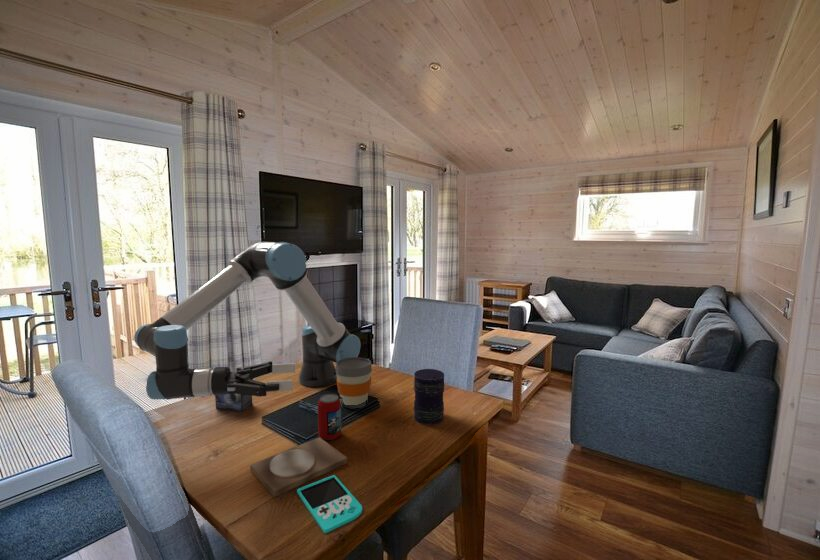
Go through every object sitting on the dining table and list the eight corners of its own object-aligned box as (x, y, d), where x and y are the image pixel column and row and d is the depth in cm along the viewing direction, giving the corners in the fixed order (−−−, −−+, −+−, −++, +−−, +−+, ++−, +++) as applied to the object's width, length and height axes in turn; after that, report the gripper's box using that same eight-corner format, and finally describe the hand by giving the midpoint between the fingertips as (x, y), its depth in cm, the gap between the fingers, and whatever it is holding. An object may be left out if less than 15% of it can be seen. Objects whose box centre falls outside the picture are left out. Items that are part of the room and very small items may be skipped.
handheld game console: (323, 536, 81) (323, 530, 81) (295, 493, 93) (295, 488, 93) (366, 515, 87) (366, 509, 86) (334, 478, 99) (334, 473, 99)
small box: (214, 409, 135) (212, 379, 134) (227, 401, 142) (225, 372, 140) (241, 412, 133) (239, 382, 131) (253, 404, 139) (252, 375, 138)
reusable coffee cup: (338, 396, 146) (338, 357, 144) (372, 396, 147) (372, 356, 145) (333, 412, 134) (332, 369, 132) (371, 411, 134) (370, 369, 132)
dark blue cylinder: (408, 414, 132) (408, 371, 130) (433, 408, 137) (434, 367, 135) (423, 428, 124) (423, 382, 122) (449, 421, 128) (450, 376, 126)
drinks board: (319, 441, 115) (319, 434, 115) (347, 462, 105) (347, 454, 105) (250, 470, 101) (250, 461, 101) (274, 497, 91) (274, 488, 91)
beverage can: (336, 443, 115) (335, 403, 113) (314, 440, 116) (313, 401, 114) (344, 431, 121) (344, 393, 120) (323, 429, 122) (323, 392, 121)
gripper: (224, 377, 121) (296, 373, 126) (201, 415, 97) (291, 407, 102) (222, 354, 120) (295, 350, 125) (199, 385, 96) (290, 379, 101)
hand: (294, 375), depth 114 cm, fingers open, 13 cm apart
